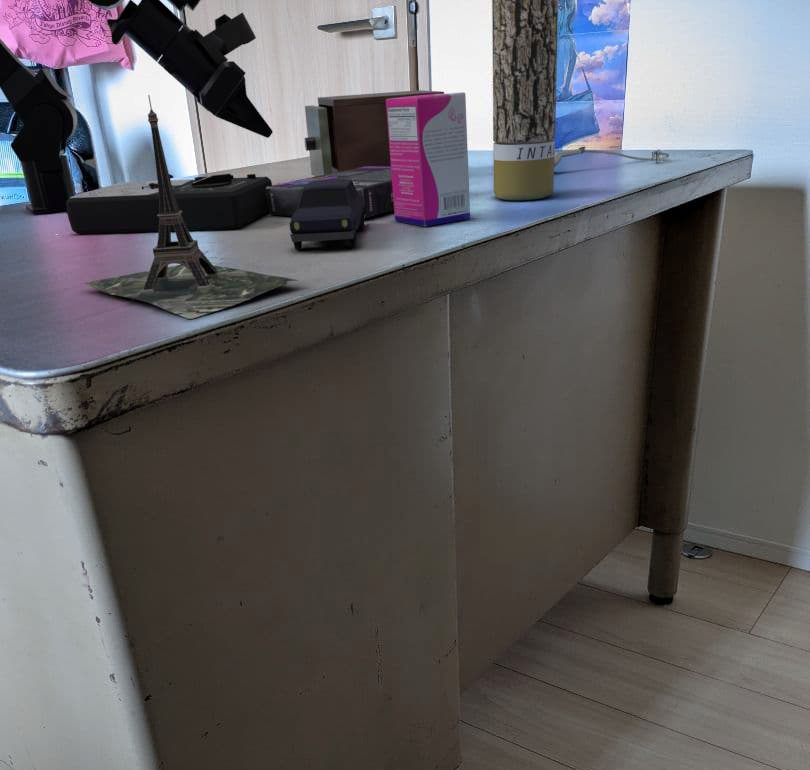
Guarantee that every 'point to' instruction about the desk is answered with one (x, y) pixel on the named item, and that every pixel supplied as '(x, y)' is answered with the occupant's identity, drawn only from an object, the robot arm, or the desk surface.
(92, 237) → the desk surface
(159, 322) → the desk surface
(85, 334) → the desk surface
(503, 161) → the paper tube
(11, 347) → the desk surface
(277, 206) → the box
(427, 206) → the supplement box
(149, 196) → the multimeter
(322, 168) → the drawer
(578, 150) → the thin grey pronged rod
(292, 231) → the toy car
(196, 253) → the eiffel tower figurine
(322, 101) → the cabinet
